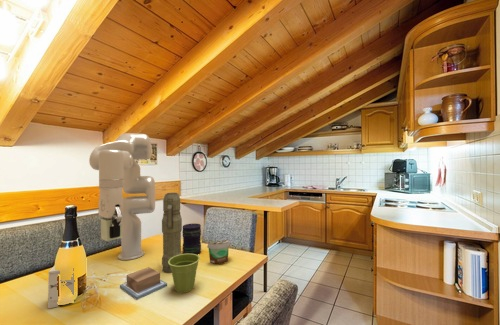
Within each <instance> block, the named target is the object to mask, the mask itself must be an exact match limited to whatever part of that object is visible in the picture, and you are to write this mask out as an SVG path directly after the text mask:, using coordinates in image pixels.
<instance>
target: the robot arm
mask: <svg viewBox="0 0 500 325" xmlns="http://www.w3.org/2000/svg"><path fill="white" fill-rule="evenodd" d="M152 156H153V148H152V142H151V138H150V137H149V135H148V134H146V133H136V132H135V133H134V132H133V133H131V132H127V133H126V132H125V133H121V134H120V135H118V136H117V138H116V139H115V141H111V142H107V143H103V144H99V145H98V146H96V147H95V148H94V149H93V150H92V151H91V153H90V155H89V160H88V161H89V162H88V163H89V165H90V167H91V168H92V169H93V170H95V171H98V190H99V194H98V195H99V197H98V211H97V212H98V216H99V217H101V218H107V219H109V218H110V223H111V227H110V238H116V237H120V225H121V219H122V238H120V239H121V241H120V244H121V246H120V249H121V250H120V253H119V254H118V255H117V259H118V260H120V261H121V260H122V261H129V260H130V261H131V260H135V259H138V258H141V257H143V256H144V255H145V250H143V249H142V220H141V219H140V218H139V216H138V215H142V214H151V213H154V211H155V209H156V182H155V178H154V177H153V176H151V175H141V166H140V164H139V163H138V162H137V160H146V161H147V160H150V159H151V158H152ZM123 193H125V194H127V195H132V196H125V197H123ZM134 194H135V195H134ZM138 194H145V195H138ZM133 195H134V196H133ZM137 195H138V196H137ZM115 216H116V217H115ZM113 219H115V220H114V222H113Z"/></svg>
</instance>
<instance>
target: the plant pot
mask: <svg viewBox="0 0 500 325" xmlns="http://www.w3.org/2000/svg"><path fill="white" fill-rule="evenodd" d="M200 260H201V258H200V255H196V254H183V253H182V254H180V255H177V256H174V257H172V258H170V259H169V261H168V264H169V265H170V268H171V271H172V273H171V276H172V280H173V288H174V290H175V292H178V293H181V294H182V293H183V294H185V293H189V292H190V291H192V290H193V289H194V288H195V283H196V276H197V269H198V264H199V261H200Z"/></svg>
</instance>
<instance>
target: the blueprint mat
mask: <svg viewBox="0 0 500 325" xmlns="http://www.w3.org/2000/svg"><path fill="white" fill-rule="evenodd" d="M166 287H168V283H167V282H165V281H163V280H162V279H160V283H159V284H157V285H155V286H152V287H150V288H148V289H145V290H143V291H141V292H139V293H137V292H136V291H134V290H133V289H131V288H130V287H128V286H127V281H126V282H124V283H122V284H119V288H120V289H121V290H123V291H124V292H125V293H127V294H128V295H129V296H131V297H132V298H133V299H134V300H136V301H137V300H140V299H142V298H144V297H146V296H148V295H150V294H153V293H155V292H158V291H159V290H161V289H163V288H166Z"/></svg>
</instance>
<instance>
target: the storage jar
mask: <svg viewBox="0 0 500 325" xmlns="http://www.w3.org/2000/svg"><path fill="white" fill-rule="evenodd" d="M181 234H182V237H183V238H182V241H183V242H182V254H196V255H198V254H199V255H200V254H201V253H202V242H201V235H202V228H201V224H200V223H187V224H186V223H185V224H182V231H181ZM199 255H198V256H199Z"/></svg>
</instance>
